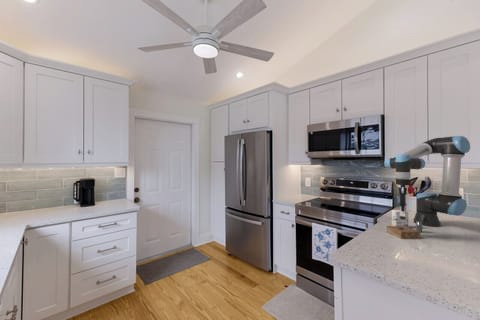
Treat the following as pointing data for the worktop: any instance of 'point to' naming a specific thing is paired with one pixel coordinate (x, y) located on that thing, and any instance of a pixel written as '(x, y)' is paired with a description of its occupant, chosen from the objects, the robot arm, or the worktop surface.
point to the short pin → (419, 226)
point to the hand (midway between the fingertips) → (402, 215)
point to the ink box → (397, 221)
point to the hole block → (403, 232)
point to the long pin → (405, 211)
